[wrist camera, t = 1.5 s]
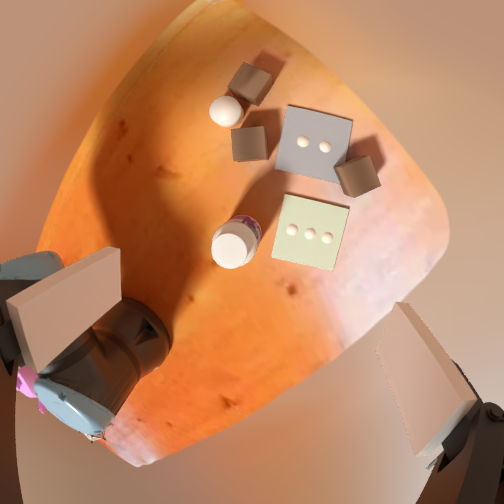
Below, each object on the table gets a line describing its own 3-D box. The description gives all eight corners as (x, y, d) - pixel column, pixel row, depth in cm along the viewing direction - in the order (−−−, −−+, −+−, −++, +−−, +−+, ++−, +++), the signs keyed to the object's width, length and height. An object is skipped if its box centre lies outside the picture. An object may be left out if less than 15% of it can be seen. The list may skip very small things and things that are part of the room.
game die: (105, 410, 63) (103, 426, 54) (111, 432, 62) (109, 449, 53) (78, 409, 59) (73, 424, 50) (85, 431, 59) (81, 448, 49)
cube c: (344, 194, 35) (354, 197, 31) (333, 167, 34) (341, 167, 30) (369, 183, 34) (381, 185, 30) (358, 156, 33) (369, 155, 29)
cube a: (238, 161, 36) (233, 160, 32) (236, 133, 35) (230, 129, 31) (268, 159, 35) (266, 158, 32) (266, 131, 34) (263, 126, 31)
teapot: (45, 384, 60) (19, 410, 46) (16, 330, 55) (-15, 354, 41) (81, 394, 57) (53, 427, 43) (47, 333, 52) (10, 363, 38)
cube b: (258, 106, 33) (233, 94, 33) (273, 84, 32) (248, 72, 32) (255, 99, 30) (227, 86, 29) (271, 74, 28) (243, 62, 28)
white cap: (212, 126, 35) (206, 122, 32) (218, 99, 34) (212, 94, 31) (240, 130, 35) (236, 126, 32) (246, 103, 33) (242, 97, 31)
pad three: (271, 256, 39) (271, 257, 39) (284, 193, 36) (284, 193, 36) (332, 269, 38) (332, 270, 38) (348, 209, 36) (349, 209, 35)
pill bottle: (267, 245, 39) (260, 268, 29) (231, 255, 40) (215, 280, 31) (255, 208, 37) (244, 220, 28) (219, 220, 38) (198, 235, 29)
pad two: (274, 169, 36) (274, 168, 35) (287, 106, 33) (287, 105, 32) (339, 184, 35) (340, 184, 35) (351, 121, 32) (352, 121, 32)
